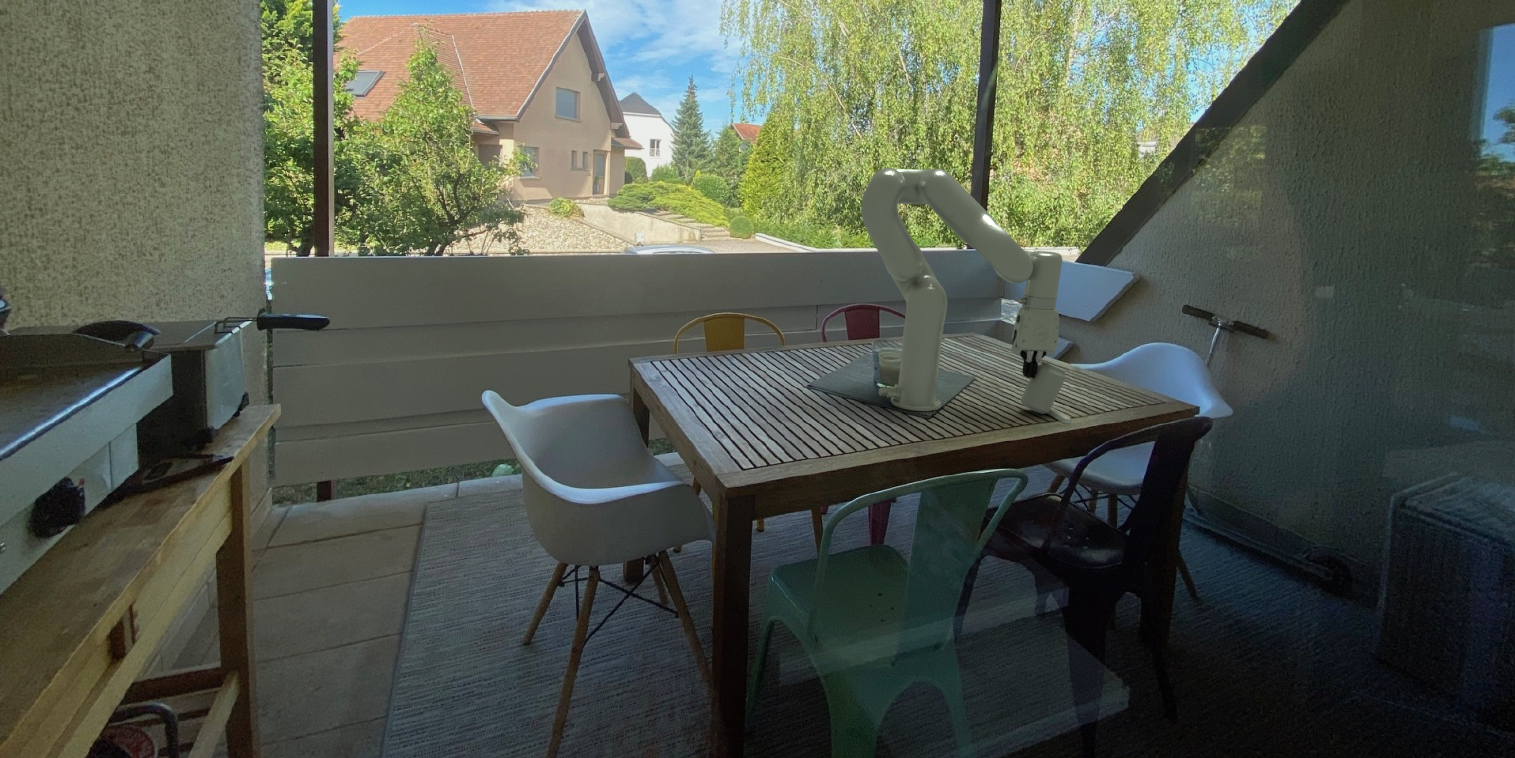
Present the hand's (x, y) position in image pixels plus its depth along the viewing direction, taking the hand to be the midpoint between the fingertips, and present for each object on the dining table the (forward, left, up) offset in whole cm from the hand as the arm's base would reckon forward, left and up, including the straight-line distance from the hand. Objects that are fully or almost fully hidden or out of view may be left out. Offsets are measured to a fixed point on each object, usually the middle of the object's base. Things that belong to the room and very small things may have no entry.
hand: (1028, 376), depth 191 cm
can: (+2, 0, -9) cm, 9 cm away
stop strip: (+7, +1, -10) cm, 12 cm away
